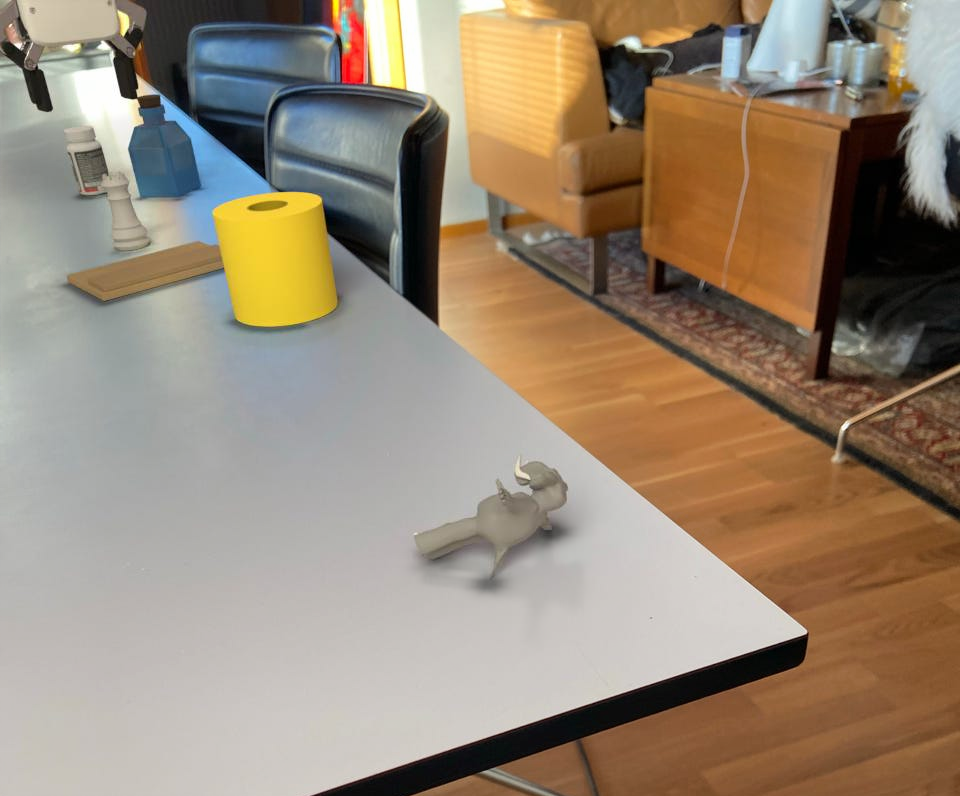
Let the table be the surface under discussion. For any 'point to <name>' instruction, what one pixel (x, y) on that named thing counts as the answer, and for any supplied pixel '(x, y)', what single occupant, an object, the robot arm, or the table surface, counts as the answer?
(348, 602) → the table surface
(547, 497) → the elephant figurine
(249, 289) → the yellow toilet paper roll
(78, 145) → the pill bottle
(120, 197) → the rook chess piece
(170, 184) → the perfume bottle
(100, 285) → the wooden board
